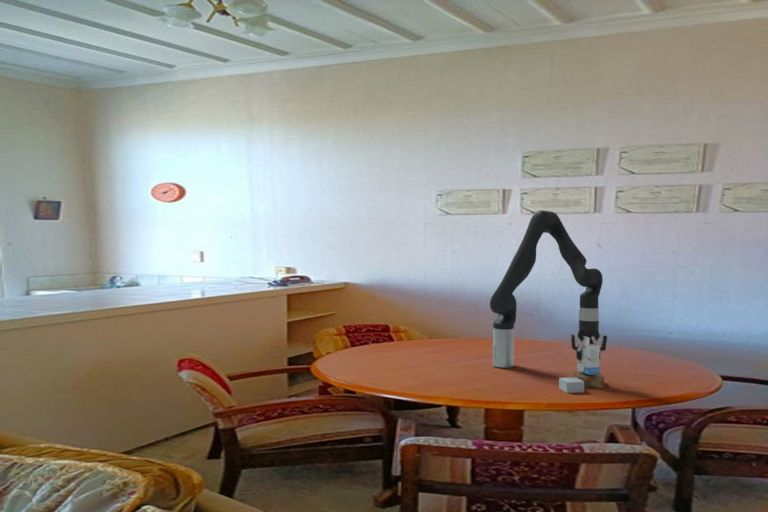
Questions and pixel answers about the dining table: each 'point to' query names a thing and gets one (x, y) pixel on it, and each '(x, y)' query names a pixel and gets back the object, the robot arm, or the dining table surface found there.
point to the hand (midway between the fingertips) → (588, 360)
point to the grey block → (571, 385)
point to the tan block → (590, 379)
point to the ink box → (589, 358)
